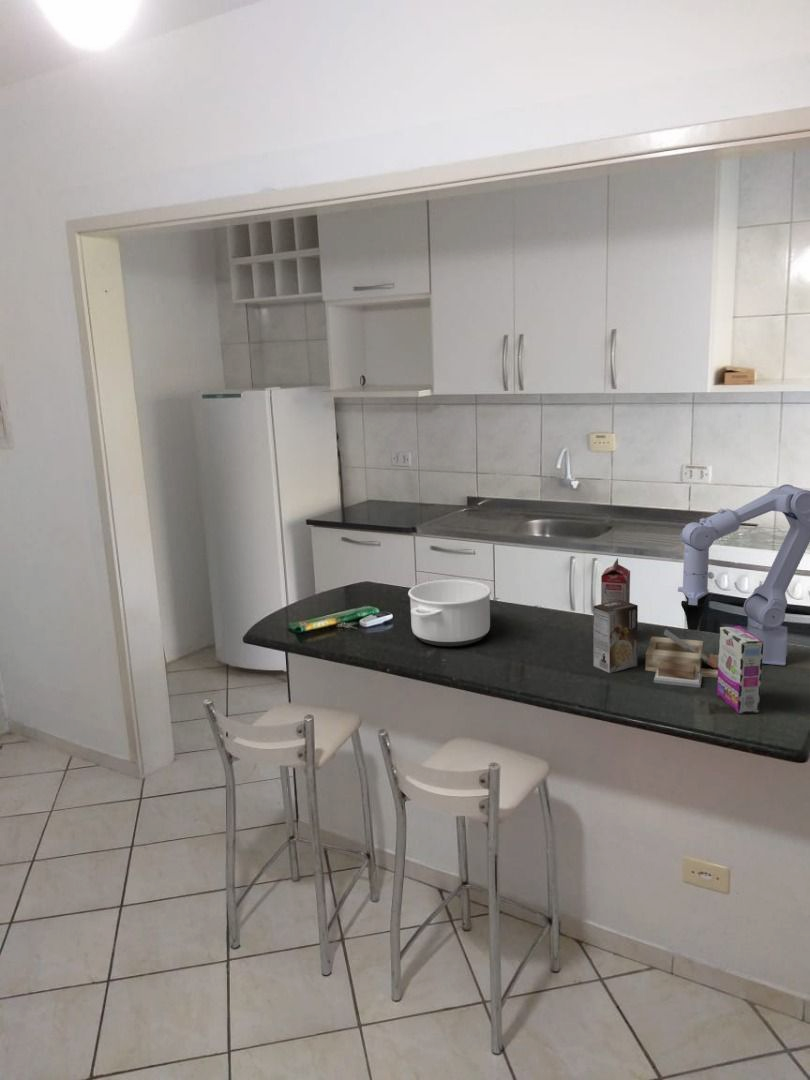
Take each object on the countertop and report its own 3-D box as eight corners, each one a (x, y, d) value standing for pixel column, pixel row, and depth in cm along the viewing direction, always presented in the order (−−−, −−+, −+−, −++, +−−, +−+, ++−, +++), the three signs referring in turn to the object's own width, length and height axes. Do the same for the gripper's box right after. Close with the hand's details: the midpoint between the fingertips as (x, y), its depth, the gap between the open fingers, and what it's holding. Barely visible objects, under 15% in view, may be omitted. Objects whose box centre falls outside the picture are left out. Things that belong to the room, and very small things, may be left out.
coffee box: (620, 658, 217) (621, 598, 214) (637, 666, 212) (639, 605, 208) (592, 666, 213) (592, 605, 210) (609, 674, 208) (610, 611, 204)
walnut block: (695, 673, 203) (695, 665, 202) (693, 679, 199) (693, 672, 198) (660, 669, 206) (661, 661, 205) (658, 675, 202) (658, 667, 202)
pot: (456, 662, 219) (455, 612, 216) (383, 648, 232) (381, 600, 229) (514, 625, 246) (514, 580, 243) (446, 614, 259) (445, 571, 256)
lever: (715, 663, 211) (719, 658, 211) (714, 671, 206) (718, 667, 205) (665, 628, 214) (668, 624, 214) (662, 636, 209) (666, 631, 208)
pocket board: (720, 659, 214) (721, 642, 213) (718, 677, 202) (719, 660, 201) (651, 652, 220) (651, 636, 219) (645, 670, 209) (645, 653, 208)
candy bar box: (760, 713, 183) (764, 641, 179) (738, 714, 183) (742, 643, 179) (736, 692, 194) (740, 624, 190) (715, 694, 193) (718, 626, 190)
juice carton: (600, 641, 230) (601, 563, 225) (604, 634, 236) (605, 557, 231) (625, 644, 227) (627, 565, 222) (628, 636, 233) (630, 558, 228)
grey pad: (701, 677, 203) (702, 672, 203) (700, 687, 197) (700, 682, 197) (656, 672, 207) (656, 668, 207) (653, 682, 201) (653, 678, 201)
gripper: (680, 563, 215) (679, 614, 218) (676, 578, 202) (674, 632, 205) (710, 565, 212) (708, 616, 215) (707, 580, 199) (705, 635, 202)
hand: (693, 624), depth 210 cm, fingers open, 7 cm apart
